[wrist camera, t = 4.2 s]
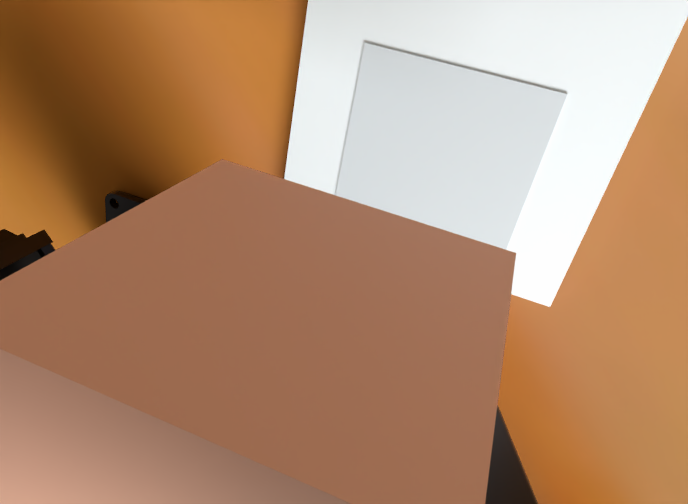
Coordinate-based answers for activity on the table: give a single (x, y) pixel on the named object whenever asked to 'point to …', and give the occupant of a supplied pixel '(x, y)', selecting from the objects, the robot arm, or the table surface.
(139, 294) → the terracotta block
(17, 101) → the table surface
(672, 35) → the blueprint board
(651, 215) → the table surface
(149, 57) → the table surface
